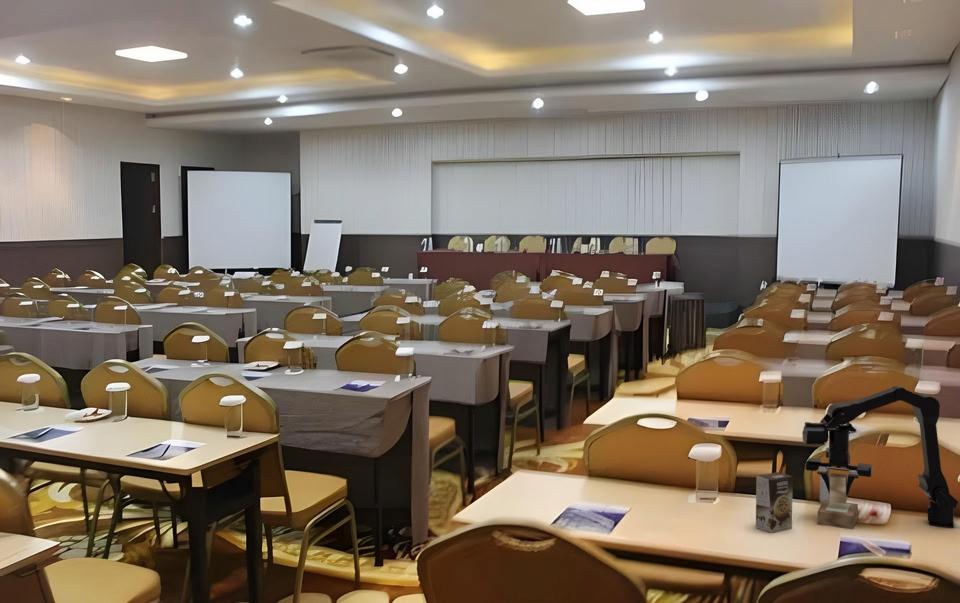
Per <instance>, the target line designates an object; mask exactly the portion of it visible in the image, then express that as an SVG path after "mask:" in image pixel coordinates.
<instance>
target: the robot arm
mask: <svg viewBox="0 0 960 603" xmlns="http://www.w3.org/2000/svg"><path fill="white" fill-rule="evenodd" d="M899 401H902V402H904V403H907V404H909V405H911V406H912V409H913V412H914V416H915V417H916V420H917V421H918V423H919V430H920V431H919V432H920V441H921V448H922V456H923V466H924V468H923V473H921V474H919V473H918V474H917V478H918V481H919V484H918V488H920V489H921V491H922V493H923V494H925V495H926V497H927V499H928V501H929V505H928V506H927V521H928V523H929V524H928V525H931V526H937V527H946V528H954V527H955V520H954V514H955V512H954V511H955V510H954V509H956V508H957V507H958V503H959V501H958V500H957V499H956V498H955V497H954V496H953V495H951V493H950V489H949V486H948V481H947V479H946V477H945V476H944V473H943V471H942V466H941V457H940V456H941V455H940V448H939V447H940V446H939V440H938V439H939V437H938V428H937V427H938V426H937V423H938V421H939V418H940V410H941V405H940V402H939V400H938V399H937V398H936V397H933V396H932V395H931V396H930V395H928V394H926V393H918V394H916V393H914V392H912V391H910V390H907V389H906V388H904V387H902V386H899V385H894V386H892V387H890V388H887V389H885V390H881V391H879V392H876V393H873V394H871V395H868V396H864V397H862V398H859V399H856V400H849V401H840V402H835V403H832V404H830V405H828V407H827V408H828V409H827V412H826V414H825V415H824V416H823V417H822V419H821V420H820V422H810V421H806V422H804V426H803V429H802V432H801V433H802V441H803V444H804V445H825V444H826V443H828V447H826V449H825V458H826V459H828V462H824V461H823V462H822V459H821V458H814V457H809V458H807V460H806V461H805V466H804V468H805V470H806V471H810V472H811V471H812V472H816V471H817V472H816V473H817V475H820V477H822V478H823V480H824V482H825V484H826V487H827V489H828V492H829V494H830V475H831V473H830V472H831V471H830V470H832V471H833V470H834V471H841V472H848V474H847V487H846V496H847V497H848V496H849V493H850V490H851V486H852V484H853V482H854V480H856V479H859V478H860V477H865V478H866V477H867V478H871V477H872V476H873V473H874V472H873V470H874V469H873V466H874V465H872V464H871V463H863V462H858V463H857V465H852V464H851V454H850V445H849V444H850V432H857V429H856V428H855V427H854V426H853V425H852V423H851V422H853V421H854V420H856V419H857V418H858V417H860V416H861V415H863V414H864V413H868V412H871V411H873V410H877V409H880V408H881V407H885V406H887V405H890V404H893V403H897V402H899Z"/></svg>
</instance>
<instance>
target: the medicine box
mask: <svg viewBox="0 0 960 603" xmlns="http://www.w3.org/2000/svg"><path fill="white" fill-rule="evenodd" d="M823 500H830V494H829V492H828V489H827V487H826V484H825V482H824V480H823V478H822V476H820V477H819V502H820V503H821V504H822V502H823Z"/></svg>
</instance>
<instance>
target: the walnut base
mask: <svg viewBox="0 0 960 603" xmlns="http://www.w3.org/2000/svg"><path fill="white" fill-rule="evenodd" d="M858 512H859V503H854V502H846V504H842V503H834V502H830V500H823V502H822V503H821V504H820V505H819V508H818V510H817V525H821V526H829V527H835V528H842V529H843V528H844V529H850V530H854V528H855V525H856V522H857V520H856V518H857V519H858V517H857V514H858V515H859V513H858Z"/></svg>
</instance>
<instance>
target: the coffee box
mask: <svg viewBox="0 0 960 603" xmlns="http://www.w3.org/2000/svg"><path fill="white" fill-rule="evenodd" d="M793 477H794V476H793V475H789V474H785V473H781V472H776V471H775V472H771V473H764V474H759V475H756V485H755V486H756V490H755V528H758V530H759V529H760V530H762V531H764V532H766V533H767V532H768V533H770V534H773V533H776V532H781V531H786V530H792V528H793V486H794V485H793Z"/></svg>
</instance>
